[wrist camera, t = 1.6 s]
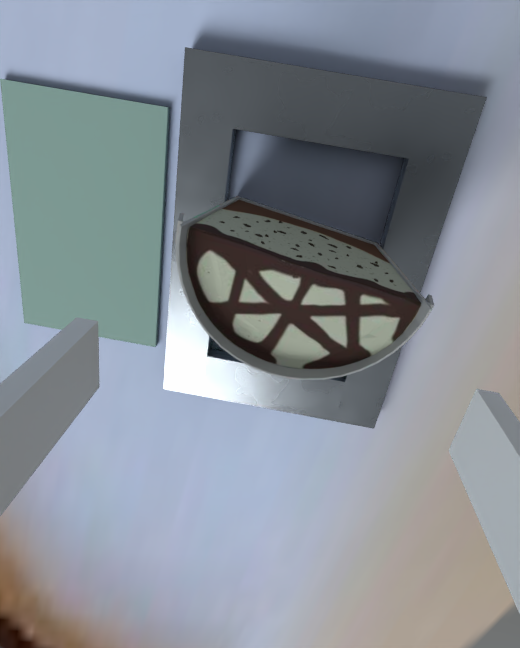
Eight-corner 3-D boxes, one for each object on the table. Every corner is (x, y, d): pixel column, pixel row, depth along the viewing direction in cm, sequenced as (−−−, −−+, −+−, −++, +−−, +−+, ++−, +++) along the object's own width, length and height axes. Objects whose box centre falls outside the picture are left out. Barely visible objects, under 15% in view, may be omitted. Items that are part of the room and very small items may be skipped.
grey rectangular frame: (478, 98, 23) (486, 97, 22) (371, 418, 33) (373, 428, 32) (190, 50, 24) (185, 47, 23) (168, 380, 33) (163, 389, 32)
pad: (169, 107, 25) (167, 107, 25) (157, 344, 32) (155, 347, 32) (4, 79, 25) (0, 78, 25) (27, 320, 32) (24, 322, 32)
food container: (192, 276, 30) (141, 344, 21) (214, 188, 27) (167, 221, 18) (361, 331, 30) (383, 421, 21) (399, 250, 27) (444, 313, 18)
